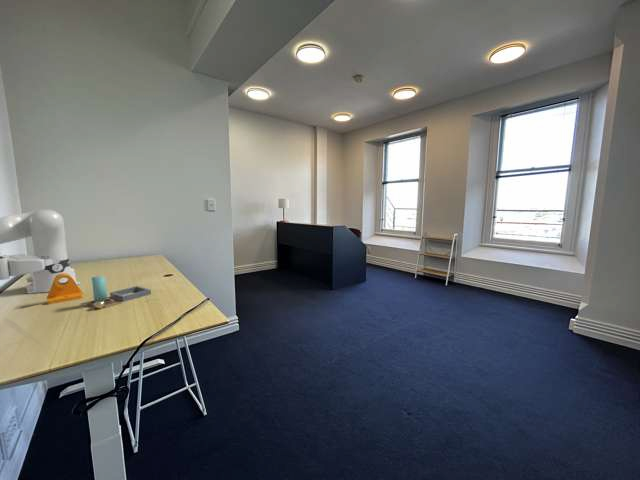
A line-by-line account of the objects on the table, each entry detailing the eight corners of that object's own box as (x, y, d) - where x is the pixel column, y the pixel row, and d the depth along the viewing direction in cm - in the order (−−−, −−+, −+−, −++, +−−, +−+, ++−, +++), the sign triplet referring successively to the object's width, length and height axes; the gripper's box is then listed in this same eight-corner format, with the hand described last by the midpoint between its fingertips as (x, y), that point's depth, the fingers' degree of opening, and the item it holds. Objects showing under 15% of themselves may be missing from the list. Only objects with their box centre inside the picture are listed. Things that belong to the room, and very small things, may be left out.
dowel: (92, 304, 104) (89, 277, 103) (104, 301, 108) (102, 275, 106) (97, 305, 102) (94, 279, 101) (109, 302, 106) (106, 276, 105)
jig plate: (79, 306, 105) (79, 301, 104) (106, 299, 112) (105, 295, 112) (95, 313, 98) (95, 308, 98) (122, 305, 106) (122, 300, 106)
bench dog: (93, 308, 100) (92, 302, 99) (102, 306, 102) (102, 300, 102) (97, 310, 98) (96, 303, 98) (106, 307, 101) (105, 301, 101)
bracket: (47, 307, 104) (44, 278, 102) (47, 303, 108) (44, 275, 107) (83, 301, 111) (80, 274, 110) (82, 297, 116) (79, 271, 115)
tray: (110, 299, 113) (110, 292, 112) (138, 292, 122) (137, 285, 122) (123, 304, 107) (123, 296, 107) (151, 296, 117) (150, 289, 117)
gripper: (-16, 272, 85) (43, 264, 97) (2, 280, 75) (65, 271, 87) (-19, 253, 84) (41, 248, 96) (-1, 259, 75) (63, 252, 87)
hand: (53, 259), depth 92 cm, fingers open, 8 cm apart
